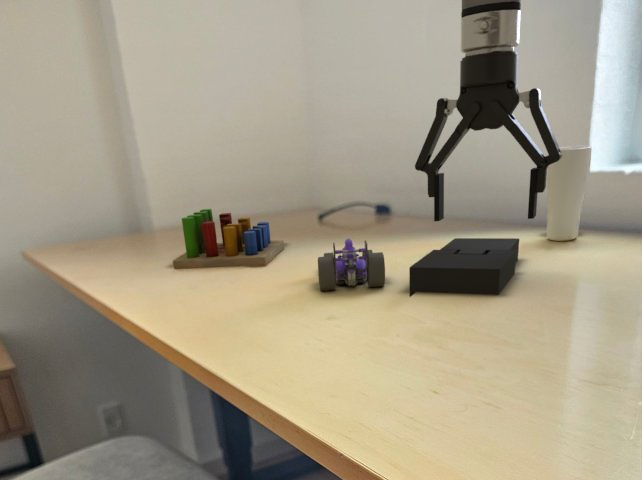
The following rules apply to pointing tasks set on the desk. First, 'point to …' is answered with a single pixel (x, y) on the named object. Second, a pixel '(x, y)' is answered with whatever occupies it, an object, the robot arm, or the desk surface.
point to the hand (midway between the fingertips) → (484, 218)
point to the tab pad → (482, 245)
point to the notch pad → (462, 272)
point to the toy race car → (351, 267)
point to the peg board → (225, 243)
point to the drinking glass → (567, 192)
